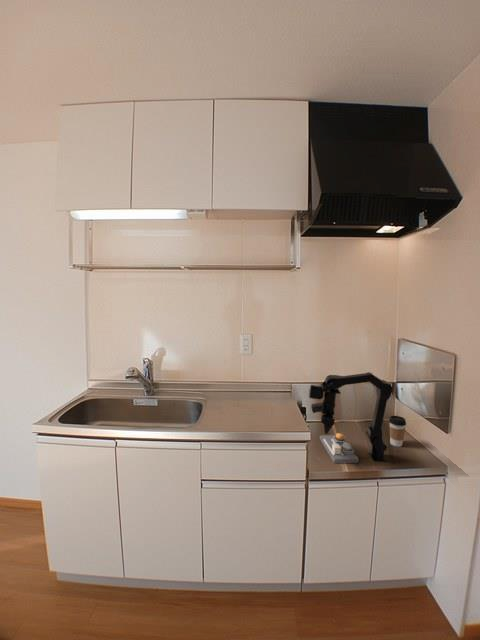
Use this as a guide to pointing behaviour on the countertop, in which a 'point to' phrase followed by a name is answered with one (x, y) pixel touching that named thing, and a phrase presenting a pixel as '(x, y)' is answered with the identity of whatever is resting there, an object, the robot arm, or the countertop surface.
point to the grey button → (347, 446)
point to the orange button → (339, 436)
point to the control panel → (345, 455)
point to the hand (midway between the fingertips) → (326, 429)
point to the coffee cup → (397, 430)
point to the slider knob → (336, 448)
